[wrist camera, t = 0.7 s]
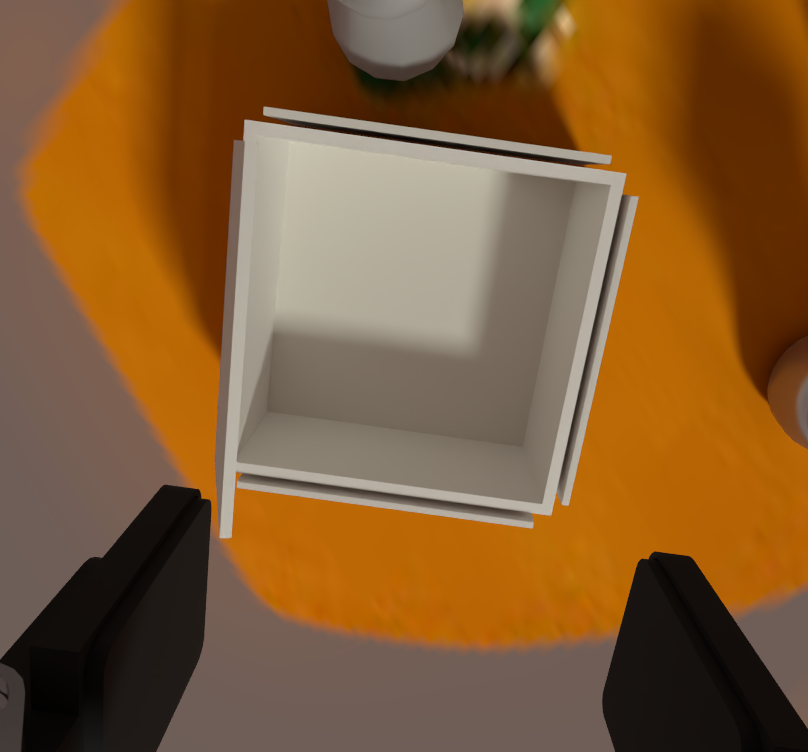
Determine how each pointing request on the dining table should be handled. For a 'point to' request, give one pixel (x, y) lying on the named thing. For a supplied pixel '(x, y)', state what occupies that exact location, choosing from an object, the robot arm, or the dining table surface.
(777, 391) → the plastic bottle
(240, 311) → the flap
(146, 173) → the dining table surface
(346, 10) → the salt shaker
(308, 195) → the carton
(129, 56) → the dining table surface
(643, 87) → the dining table surface
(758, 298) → the dining table surface
